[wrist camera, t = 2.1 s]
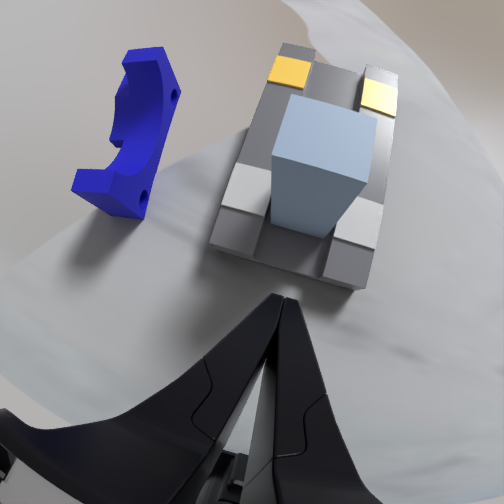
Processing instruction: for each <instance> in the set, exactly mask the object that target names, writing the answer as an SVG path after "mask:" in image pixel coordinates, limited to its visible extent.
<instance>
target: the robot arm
mask: <svg viewBox="0 0 504 504" xmlns="http://www.w3.org/2000/svg"><path fill="white" fill-rule="evenodd" d="M265 360H266V361H265ZM264 362H265V365H264ZM263 365H264V370H263V376H262V382H261V388H260V394H259V400H258V406H257V412H256V418H255V423H254V429H253V435H252V440H251V446H250V451H249V455H245V454H242V453H238V454H235V453H232V452H229V451H225V450H223V448H224V446H225V444H226V442H227V440H228V438H229V436H230V434H231V432H232V430H233V428H234V426H235V424H236V422H237V420H238V418H239V416H240V414H241V412H242V410H243V408H244V406H245V404H246V402H247V400H248V398H249V396H250V393H251V391H252V389H253V387H254V385H255V383H256V381H257V379H258V376H259V374H260V372H261V370H262V367H263ZM0 504H383V503H382V502H380V501H379V500H378V499H377V498H376V497H375V496H374V495H373V494H372V493H371V492H370V491H369V490H368V489H367V488H366V486H365V485H364V483H363V482H362V480H361V478H360V477H359V474H358V472H357V470H356V468H355V465H354V463H353V461H352V458H351V456H350V454H349V452H348V449H347V447H346V445H345V442H344V440H343V438H342V435H341V433H340V430H339V428H338V425H337V423H336V420H335V417H334V414H333V411H332V408H331V405H330V401H329V398H328V395H327V394H326V388H325V385H324V382H323V378H322V375H321V372H320V368H319V365H318V362H317V358H316V355H315V352H314V348H313V345H312V342H311V339H310V336H309V332H308V329H307V326H306V323H305V320H304V316H303V313H302V310H301V307H300V304H299V301H298V300H295V299H291V298H288V297H286V298H285V299H284V297H283V296H281V295H277V294H274V293H271V294H270V295H269V296H268V297H266V298H265V299H264V300H263V301H262V302H261V303H260V304H259V305H258V306H257V307H256V308H255V309H254V310H253V311H252V312H251V313H250V314H249V315H248V316H247V317H246V318H244V319H243V320H242V321H241V322H240V323H239V324H238V325H237V326H236V327H235V328H234V329H233V330H232V331H231V332H230V333H228V334H227V335H226V336H225V337H224V338H223V339H222V340H221V341H220V342H219V343H218V344H217V345H216V346H214V347H213V348H212V349H211V350H210V351H209V352H208V353H207V354H206V355H205V356H203V359H200V360H199V361H198V362H197V363H196V364H194V365H193V366H192V367H191V368H190V369H189V370H187V371H186V372H185V373H184V374H183V375H181V376H180V377H179V378H178V379H176V380H175V381H173V382H172V383H170V384H169V385H168V386H166V387H165V388H163V389H162V390H160V391H159V392H157V393H156V394H154V395H152V396H151V397H149V398H148V399H146V400H145V401H143V402H142V403H140V404H138V405H137V406H135V407H134V408H132V409H130V410H129V411H127V412H125V413H123V414H121V415H119V416H117V417H114V418H111V419H108V420H103V421H98V422H93V423H87V424H82V425H76V426H70V427H63V428H57V429H37V428H34V427H31V426H29V425H27V424H25V423H24V422H23V421H21V420H20V419H19V418H17V417H16V416H15V415H14V414H13V413H11V412H10V411H9V410H7V409H5V408H3V409H0Z"/></svg>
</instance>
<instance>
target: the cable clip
mask: <svg viewBox="0 0 504 504" xmlns="http://www.w3.org/2000/svg"><path fill="white" fill-rule="evenodd" d="M122 65H123V67H124V70H125V72H126V74H125V76H124V78H123V81H122V82H121V85H120V87H119V89H118V91H117V94H116V96H115V115H114V122H113V127H112V132H111V135H110V139H109V140H110V142H111V143H112V144H113V145H114V146H115V147H116V148H121V149H120V151H119V153H118V155H117V157H116V158H115V159H114V161H113V162H112V163H111V164H110V165H109V166H108V167H107V168H106V169H105V170H100V169H96V170H95V169H77V172H76V175H75V179H74V182H73V185H72V189H71V191H72V192H74V193H75V194H77V195H78V196H80V197H82V198H83V199H85V200H86V201H88V202H90V203H91V204H93V205H95V206H96V207H98V208H99V209H101V210H103V211H104V212H106V213H107V214H109V215H111V216H119V217H127V218H135V219H144V217H145V213H146V208H147V204H148V200H149V196H150V192H151V188H152V184H153V180H154V177H155V174H156V173H157V169H158V165H159V162H160V158H161V155H162V151H163V148H164V144H165V141H166V138H167V134H168V131H169V128H170V124H171V122H172V118H173V115H174V112H175V109H176V106H177V103H178V100H179V97H180V94H181V90H180V87H179V85H178V82H177V80H176V78H175V75H174V73H173V70H172V68H171V65H170V63H169V60H168V58H167V55H166V53H165V50H164V48H163V47H152V48H142V49H134V50H128V52H127V54H126V56H125V58H124V59H123V61H122Z"/></svg>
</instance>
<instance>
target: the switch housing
mask: <svg viewBox="0 0 504 504" xmlns="http://www.w3.org/2000/svg"><path fill="white" fill-rule="evenodd" d="M315 51H316V50H315V49H310V48H306V47H302V46H297V45H292V44H287V43H283V44H282V47H281V49H280V52H279V54H278V56H277V57H276V60H275V62H274V65H273V67H272V70H271V72H270V75H269V77H268V80H267V84H266V86H265V89H264V91H263V94H262V97H261V99H260V101H259V104H258V107H257V109H256V112H255V115H254V118H253V120H252V123H251V125H250V128H249V130H248V133H247V136H246V138H245V141H244V144H243V146H242V149H241V152H240V155H239V157H238V160H237V162H236V164H235V166H234V169H233V172H232V175H231V177H230V180H229V183H228V186H227V189H226V192H225V194H224V197H223V200H222V203H221V208H220V211H219V214H218V217H217V220H216V223H215V226H214V229H213V232H212V235H211V238H210V241H209V243H210V244H211V245H212V246H213V247H214V249H215V250H218V251H221V252H225V253H228V254H232V255H235V256H238V257H242V258H245V259H248V260H252V261H255V262H259V263H262V264H265V265H269V266H272V267H276V268H279V269H282V270H286V271H289V272H293V273H296V274H299V275H303V276H306V277H310V278H313V279H317V280H320V281H324V282H327V283H330V284H334V285H337V286H341V287H344V288H348V289H351V290H360V289H365V288H366V284H367V280H368V276H369V272H370V268H371V263H372V259H373V254H374V250H375V249H376V245H377V240H378V235H379V230H380V225H381V219H382V214H383V208H384V205H383V204H384V198H385V192H386V185H387V179H388V172H389V165H390V157H391V149H392V141H393V131H394V121H395V117H396V106H397V91H398V89H397V78H398V75H397V74H394V73H391V72H388V71H386V70H383V69H380V68H377V67H374V66H371V65H368V64H366V67H365V70H364V73H363V75H362V74H359V73H355V72H352V71H349V70H345V69H342V68H338V67H335V66H331V65H327V64H324V63H319V62H316V61H314V58H315ZM291 94H294V95H298V96H302V97H306V98H310V99H314V100H318V101H321V102H325V103H329V104H332V105H336V106H339V107H342V108H346V109H349V110H352V111H355V112H358V113H361V114H364V115H367V116H370V117H373V118H376V119H377V127H376V134H375V141H374V148H373V154H372V160H371V166H370V172H369V178H368V183H367V184H366V186H365V187H364V188H363V190H362V191H361V192H360V193H359V195H358V196H357V197H356V199H355V200H354V201H353V203H352V204H351V205H350V206H349V208H348V209H347V210H346V212H345V213H344V214H343V215H342V217H341V218H340V219H339V221H338V222H337V223H336V224H335V226H334V227H333V228H332V229H331V231H330V232H329V233H328V234H327V236H326V237H325V238H324V239H322V238H318V237H315V236H311V235H308V234H305V233H301V232H298V231H294V230H291V229H288V228H284V227H281V226H277V225H274V224H271V154H272V151H273V148H274V145H275V142H276V139H277V136H278V133H279V130H280V127H281V124H282V121H283V118H284V115H285V112H286V108H287V105H288V102H289V99H290V96H291Z"/></svg>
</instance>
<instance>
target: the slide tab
mask: <svg viewBox="0 0 504 504" xmlns="http://www.w3.org/2000/svg"><path fill="white" fill-rule="evenodd" d="M376 127H377V119H376V118H373V117H370V116H367V115H364V114H361V113H358V112H355V111H352V110H349V109H346V108H342V107H339V106H336V105H332V104H329V103H325V102H321V101H318V100H314V99H310V98H306V97H302V96H298V95H294V94H291V96H290V99H289V102H288V105H287V108H286V112H285V115H284V118H283V121H282V124H281V127H280V130H279V133H278V136H277V139H276V142H275V145H274V148H273V151H272V154H271V224H274V225H277V226H281V227H284V228H288V229H291V230H294V231H298V232H301V233H305V234H308V235H311V236H315V237H318V238H322V239H324V238H325V237H326V236H327V234H328V233H329V232H330V231H331V229H332V228H333V227H334V226H335V224H336V223H337V222H338V221H339V219H340V218H341V217H342V215H343V214H344V213H345V212H346V210H347V209H348V208H349V206H350V205H351V204H352V203H353V201H354V200H355V199H356V197H357V196H358V195H359V193H360V192H361V191H362V190H363V188H364V187H365V186H366V184H367V183H368V178H369V172H370V166H371V160H372V154H373V148H374V141H375V134H376Z"/></svg>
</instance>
